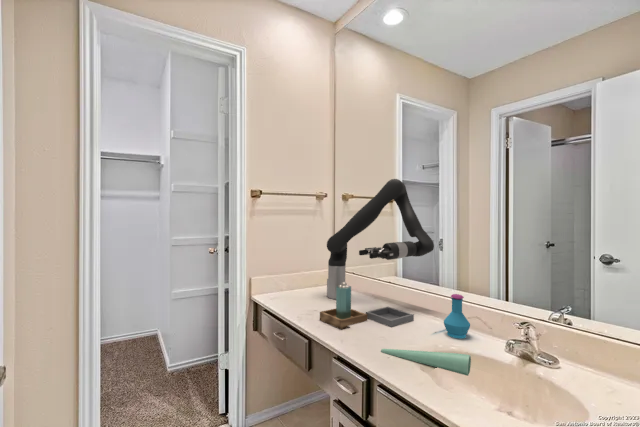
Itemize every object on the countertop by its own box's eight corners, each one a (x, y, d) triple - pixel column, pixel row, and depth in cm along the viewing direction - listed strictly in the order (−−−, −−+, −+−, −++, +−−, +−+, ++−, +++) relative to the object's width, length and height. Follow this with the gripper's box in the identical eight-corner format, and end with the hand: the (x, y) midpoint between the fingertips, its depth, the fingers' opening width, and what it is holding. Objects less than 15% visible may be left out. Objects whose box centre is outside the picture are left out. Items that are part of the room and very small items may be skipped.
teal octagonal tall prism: (333, 318, 139) (333, 281, 139) (344, 316, 143) (344, 279, 143) (342, 322, 134) (343, 284, 134) (353, 319, 138) (354, 282, 138)
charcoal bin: (365, 320, 141) (365, 311, 141) (387, 314, 149) (387, 306, 149) (391, 329, 130) (391, 320, 130) (413, 322, 138) (413, 314, 138)
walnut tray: (319, 320, 140) (319, 311, 140) (344, 314, 148) (344, 306, 148) (341, 329, 129) (341, 320, 129) (367, 322, 137) (367, 314, 137)
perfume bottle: (465, 331, 129) (465, 292, 129) (473, 340, 120) (474, 298, 120) (440, 330, 130) (441, 291, 130) (447, 339, 121) (447, 297, 121)
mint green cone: (384, 333, 111) (471, 352, 97) (384, 349, 111) (471, 371, 97) (378, 338, 107) (468, 359, 92) (377, 355, 107) (467, 378, 92)
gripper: (385, 240, 157) (355, 243, 151) (404, 244, 144) (373, 248, 138) (385, 256, 158) (356, 260, 151) (405, 261, 145) (373, 266, 138)
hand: (364, 254), depth 145 cm, fingers open, 8 cm apart
